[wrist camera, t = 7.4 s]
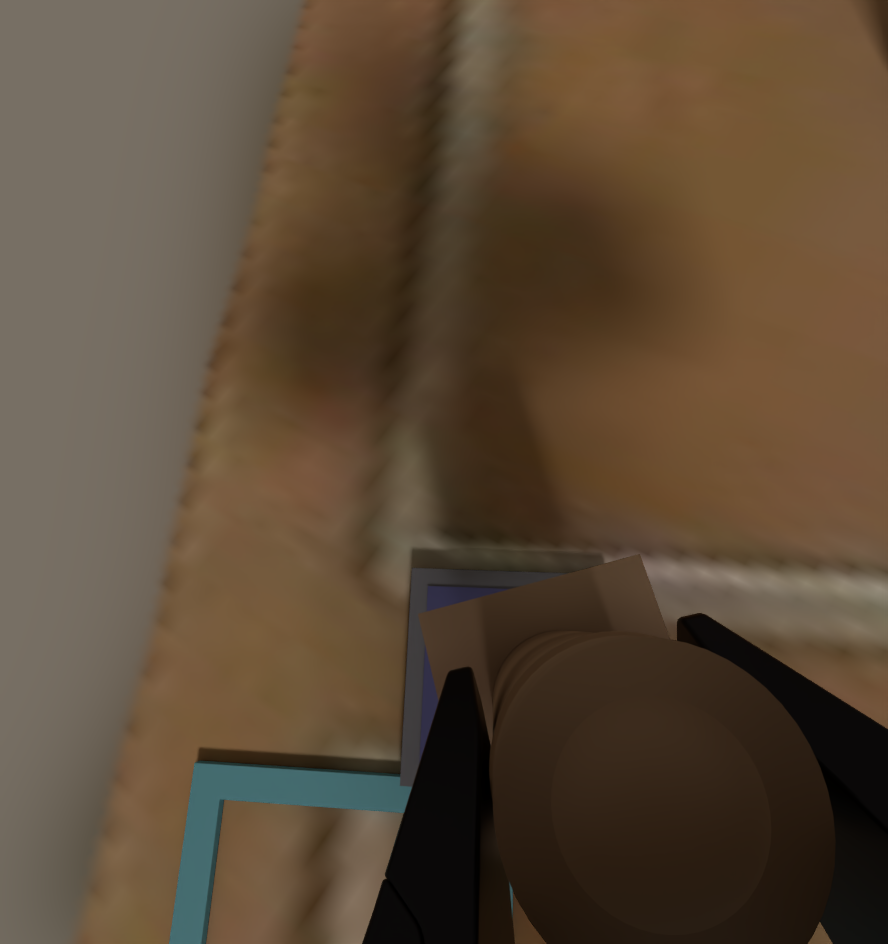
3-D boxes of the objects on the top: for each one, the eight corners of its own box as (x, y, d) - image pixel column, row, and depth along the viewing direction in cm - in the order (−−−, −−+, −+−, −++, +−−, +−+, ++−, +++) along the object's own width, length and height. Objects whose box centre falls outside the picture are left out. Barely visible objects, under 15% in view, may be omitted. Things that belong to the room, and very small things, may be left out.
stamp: (702, 784, 15) (1145, 1122, 5) (480, 843, 15) (454, 1298, 5) (624, 561, 16) (833, 461, 6) (425, 614, 16) (320, 600, 6)
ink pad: (616, 794, 21) (621, 802, 20) (403, 780, 22) (399, 786, 21) (609, 576, 23) (613, 574, 22) (414, 569, 24) (411, 567, 23)
